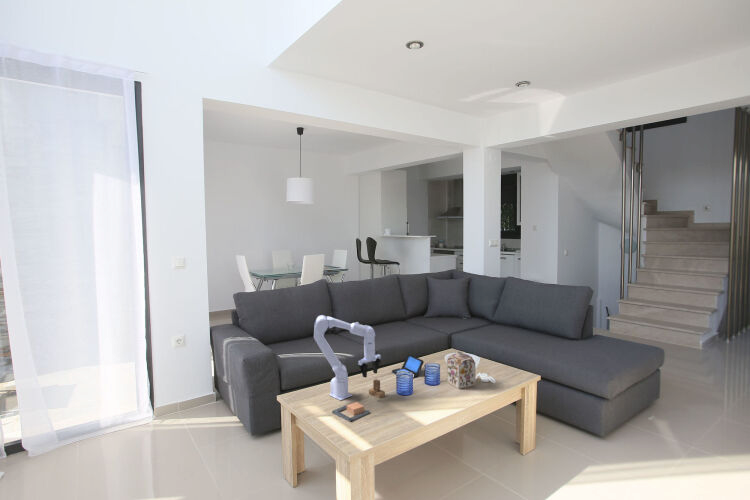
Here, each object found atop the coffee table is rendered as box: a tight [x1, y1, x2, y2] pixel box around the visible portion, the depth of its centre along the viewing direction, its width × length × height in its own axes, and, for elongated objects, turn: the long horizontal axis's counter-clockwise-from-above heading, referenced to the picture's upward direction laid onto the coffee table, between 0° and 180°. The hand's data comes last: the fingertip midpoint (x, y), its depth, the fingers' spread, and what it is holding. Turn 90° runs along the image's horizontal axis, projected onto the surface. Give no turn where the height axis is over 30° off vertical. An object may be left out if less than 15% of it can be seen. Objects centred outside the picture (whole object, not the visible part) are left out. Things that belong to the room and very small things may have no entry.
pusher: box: [368, 378, 386, 399], centre depth 219 cm, size 8×4×8 cm, turn 45°
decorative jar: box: [446, 351, 477, 390], centre depth 232 cm, size 12×12×18 cm
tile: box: [346, 401, 365, 416], centre depth 200 cm, size 6×6×3 cm
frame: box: [331, 402, 370, 423], centre depth 198 cm, size 13×12×1 cm
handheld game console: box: [391, 354, 425, 379], centre depth 249 cm, size 16×13×9 cm
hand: (369, 375), depth 219 cm, fingers open, 7 cm apart
